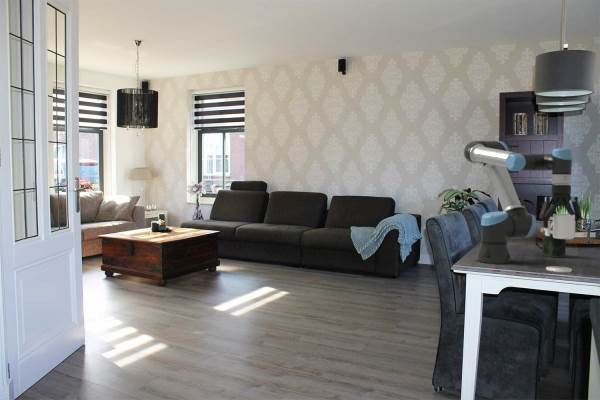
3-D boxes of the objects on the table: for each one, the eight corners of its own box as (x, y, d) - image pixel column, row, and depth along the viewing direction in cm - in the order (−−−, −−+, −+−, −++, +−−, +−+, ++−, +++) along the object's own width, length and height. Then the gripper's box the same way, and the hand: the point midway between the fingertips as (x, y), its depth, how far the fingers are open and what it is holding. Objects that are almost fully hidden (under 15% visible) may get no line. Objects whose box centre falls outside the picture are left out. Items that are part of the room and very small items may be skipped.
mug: (564, 258, 249) (565, 234, 249) (532, 255, 258) (532, 232, 257) (567, 255, 258) (568, 232, 257) (536, 252, 267) (537, 230, 266)
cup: (574, 239, 214) (575, 215, 213) (543, 238, 219) (543, 214, 219) (573, 237, 222) (574, 214, 221) (543, 235, 227) (543, 213, 226)
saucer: (553, 272, 216) (554, 270, 216) (541, 268, 226) (541, 266, 226) (576, 272, 217) (576, 270, 217) (563, 267, 227) (563, 265, 227)
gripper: (539, 184, 215) (538, 236, 216) (592, 184, 216) (590, 236, 217) (530, 184, 222) (529, 234, 224) (581, 184, 223) (580, 234, 225)
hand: (559, 235), depth 220 cm, fingers closed on cup, 10 cm apart
